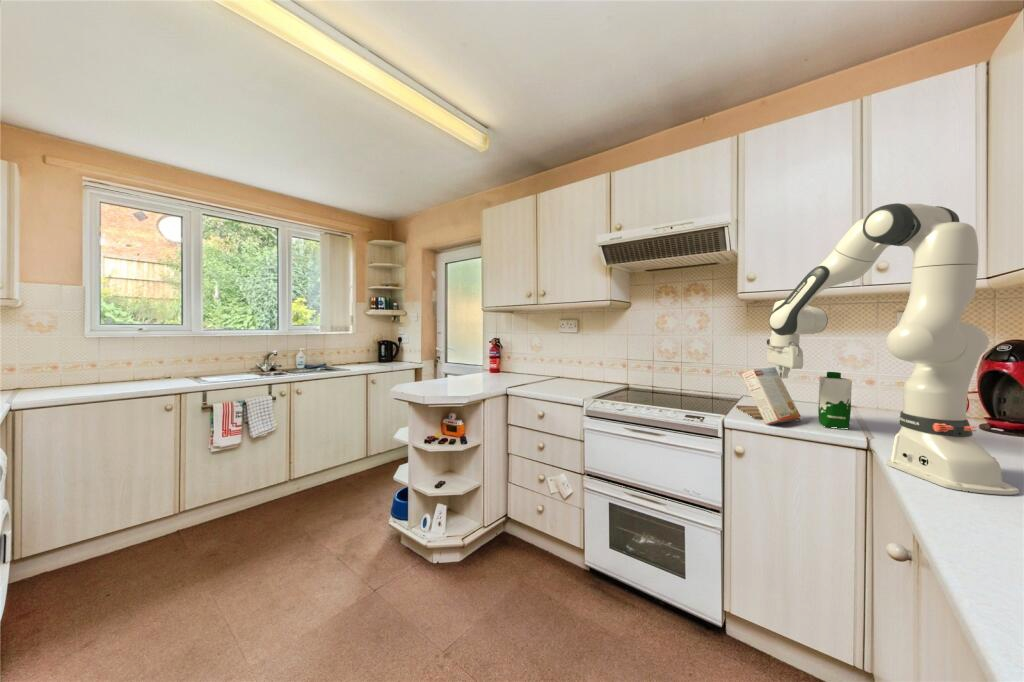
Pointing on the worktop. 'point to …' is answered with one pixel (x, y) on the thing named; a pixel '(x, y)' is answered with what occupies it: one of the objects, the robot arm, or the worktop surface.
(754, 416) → the walnut board
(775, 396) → the cracker box
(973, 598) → the worktop surface
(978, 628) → the worktop surface
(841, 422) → the milk carton
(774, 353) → the robot arm
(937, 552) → the worktop surface
